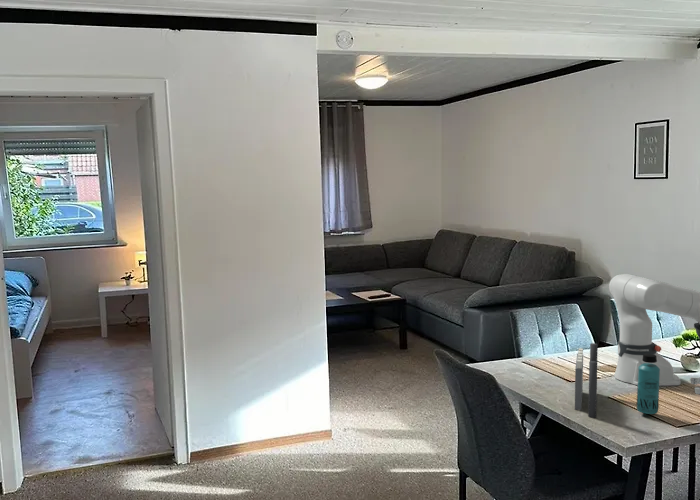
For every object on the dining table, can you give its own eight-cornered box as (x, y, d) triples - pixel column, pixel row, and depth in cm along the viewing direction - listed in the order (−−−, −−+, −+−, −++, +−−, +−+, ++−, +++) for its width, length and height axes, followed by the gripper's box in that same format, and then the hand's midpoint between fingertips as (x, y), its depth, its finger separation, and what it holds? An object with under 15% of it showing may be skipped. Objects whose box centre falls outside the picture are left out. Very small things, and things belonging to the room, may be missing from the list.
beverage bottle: (632, 411, 204) (633, 352, 202) (651, 410, 205) (653, 351, 202) (643, 419, 198) (645, 357, 195) (663, 418, 198) (665, 356, 196)
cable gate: (596, 392, 222) (597, 343, 220) (596, 418, 200) (597, 363, 197) (589, 392, 223) (590, 343, 221) (588, 417, 200) (589, 362, 198)
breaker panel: (582, 392, 223) (583, 347, 221) (581, 410, 207) (582, 362, 205) (576, 391, 224) (577, 347, 222) (574, 409, 207) (575, 361, 205)
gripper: (751, 412, 181) (697, 406, 186) (736, 389, 200) (688, 384, 205) (752, 391, 180) (697, 386, 186) (737, 369, 199) (688, 366, 204)
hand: (692, 385), depth 196 cm, fingers open, 8 cm apart
